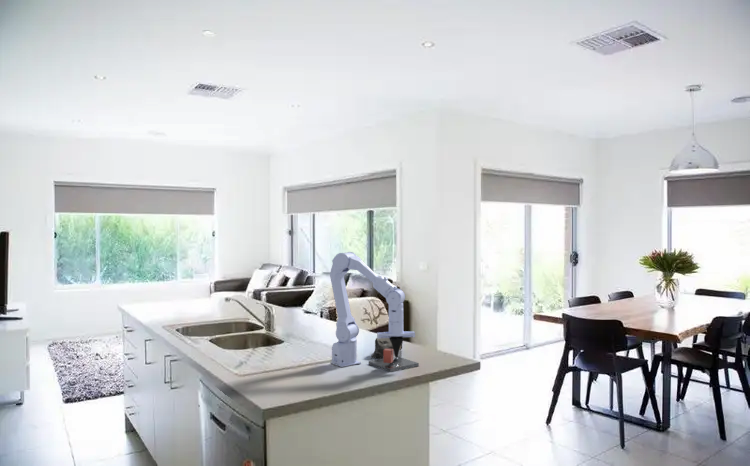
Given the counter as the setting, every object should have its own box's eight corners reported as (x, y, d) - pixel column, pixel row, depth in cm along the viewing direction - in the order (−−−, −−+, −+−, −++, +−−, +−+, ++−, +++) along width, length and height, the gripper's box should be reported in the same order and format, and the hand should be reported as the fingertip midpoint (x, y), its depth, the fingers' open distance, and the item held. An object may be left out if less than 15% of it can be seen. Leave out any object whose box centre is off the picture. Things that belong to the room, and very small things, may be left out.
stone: (389, 355, 211) (377, 333, 214) (373, 364, 214) (362, 343, 218) (409, 348, 227) (398, 328, 230) (394, 357, 230) (384, 337, 233)
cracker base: (390, 371, 194) (390, 353, 194) (368, 364, 206) (368, 346, 206) (419, 365, 203) (419, 348, 203) (396, 358, 214) (396, 341, 214)
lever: (392, 357, 210) (392, 343, 210) (399, 357, 209) (399, 344, 209) (383, 364, 199) (383, 350, 199) (391, 364, 198) (391, 350, 198)
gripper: (412, 318, 205) (412, 353, 205) (375, 319, 202) (375, 354, 202) (416, 321, 198) (416, 357, 198) (378, 323, 195) (378, 359, 195)
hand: (396, 356), depth 200 cm, fingers closed
